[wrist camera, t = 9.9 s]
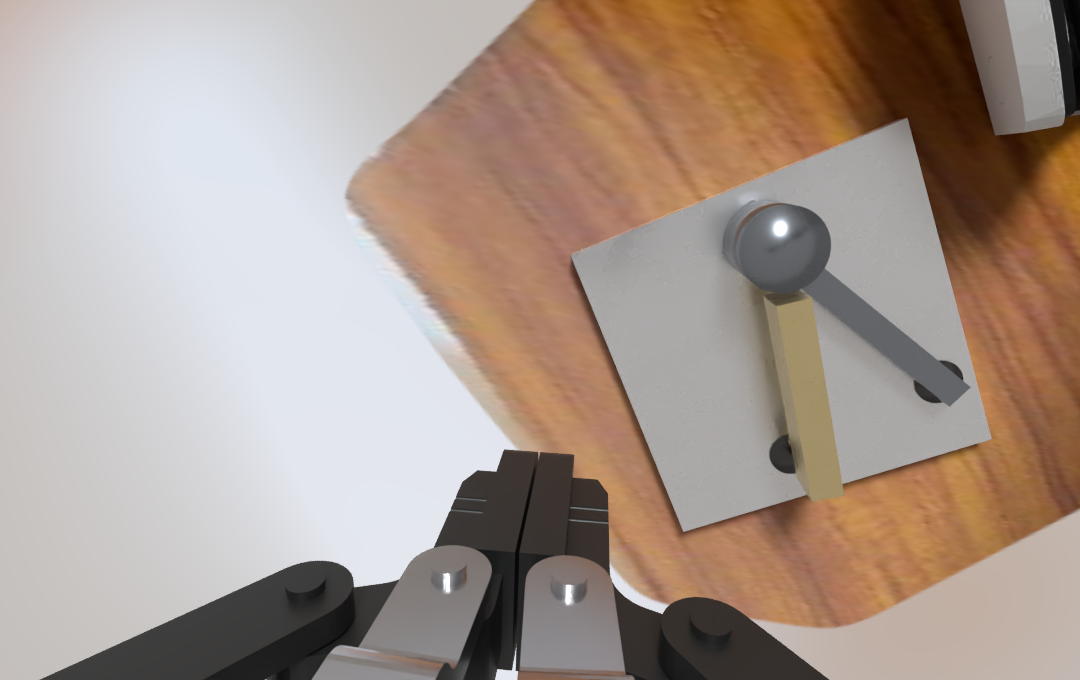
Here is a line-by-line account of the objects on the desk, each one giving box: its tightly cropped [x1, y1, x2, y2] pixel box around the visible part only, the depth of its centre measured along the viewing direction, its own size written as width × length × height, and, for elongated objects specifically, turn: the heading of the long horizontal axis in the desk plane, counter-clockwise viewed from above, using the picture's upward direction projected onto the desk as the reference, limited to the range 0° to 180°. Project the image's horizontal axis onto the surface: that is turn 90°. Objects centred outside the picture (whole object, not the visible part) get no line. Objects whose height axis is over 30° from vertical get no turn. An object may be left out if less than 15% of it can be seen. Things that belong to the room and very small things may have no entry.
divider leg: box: [763, 290, 844, 502], centre depth 31 cm, size 10×2×4 cm, turn 15°
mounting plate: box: [571, 118, 992, 532], centre depth 31 cm, size 18×18×5 cm
